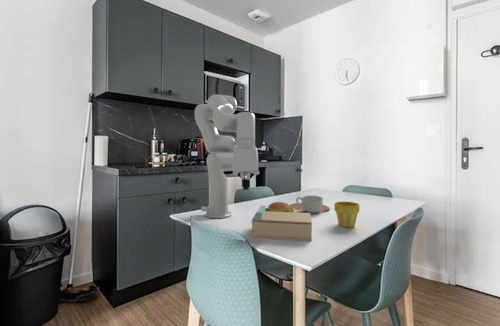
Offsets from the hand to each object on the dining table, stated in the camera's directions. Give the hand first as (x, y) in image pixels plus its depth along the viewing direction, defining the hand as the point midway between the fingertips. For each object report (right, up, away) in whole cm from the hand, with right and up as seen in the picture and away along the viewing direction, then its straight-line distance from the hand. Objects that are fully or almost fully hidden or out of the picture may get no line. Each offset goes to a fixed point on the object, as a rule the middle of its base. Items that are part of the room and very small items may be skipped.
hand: (245, 189), depth 109 cm
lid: (+15, -11, -2) cm, 18 cm away
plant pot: (+44, -17, +10) cm, 48 cm away
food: (+15, -16, +21) cm, 31 cm away
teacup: (+33, -16, +35) cm, 51 cm away
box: (+14, -17, -1) cm, 23 cm away
